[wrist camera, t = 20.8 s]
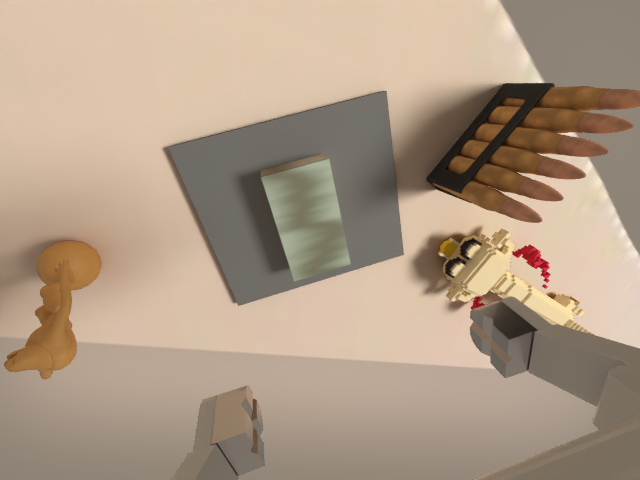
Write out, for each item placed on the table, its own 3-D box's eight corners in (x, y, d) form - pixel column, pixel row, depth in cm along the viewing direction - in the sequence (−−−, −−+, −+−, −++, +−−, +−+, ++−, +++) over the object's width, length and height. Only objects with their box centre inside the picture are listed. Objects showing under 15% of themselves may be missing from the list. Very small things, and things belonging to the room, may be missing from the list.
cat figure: (572, 279, 42) (469, 202, 31) (645, 321, 35) (546, 241, 24) (522, 330, 45) (410, 277, 34) (581, 380, 38) (463, 333, 26)
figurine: (66, 202, 24) (-80, 286, 13) (147, 230, 26) (77, 321, 16) (45, 285, 26) (-93, 412, 16) (121, 304, 29) (45, 426, 18)
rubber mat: (238, 302, 31) (238, 305, 31) (169, 146, 24) (167, 147, 23) (401, 252, 33) (403, 254, 32) (383, 91, 25) (386, 90, 25)
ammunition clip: (437, 189, 30) (537, 239, 20) (425, 179, 30) (522, 225, 19) (515, 96, 28) (678, 95, 17) (505, 82, 27) (668, 73, 17)
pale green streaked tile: (343, 251, 30) (322, 153, 26) (350, 264, 28) (329, 158, 24) (290, 267, 30) (260, 170, 25) (294, 281, 28) (261, 177, 23)
